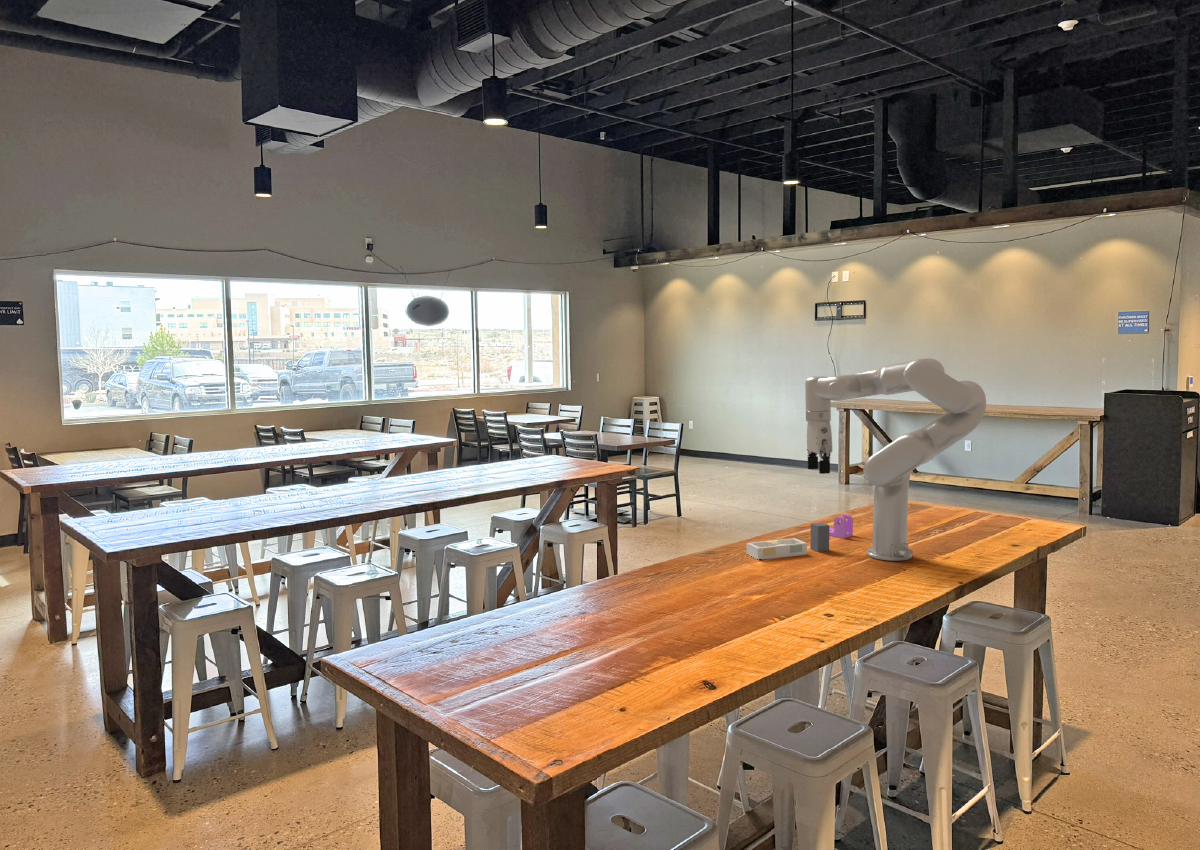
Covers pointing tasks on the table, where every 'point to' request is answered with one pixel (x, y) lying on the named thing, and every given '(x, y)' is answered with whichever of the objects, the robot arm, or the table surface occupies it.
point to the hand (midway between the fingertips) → (818, 471)
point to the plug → (819, 537)
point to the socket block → (777, 548)
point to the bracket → (842, 527)
